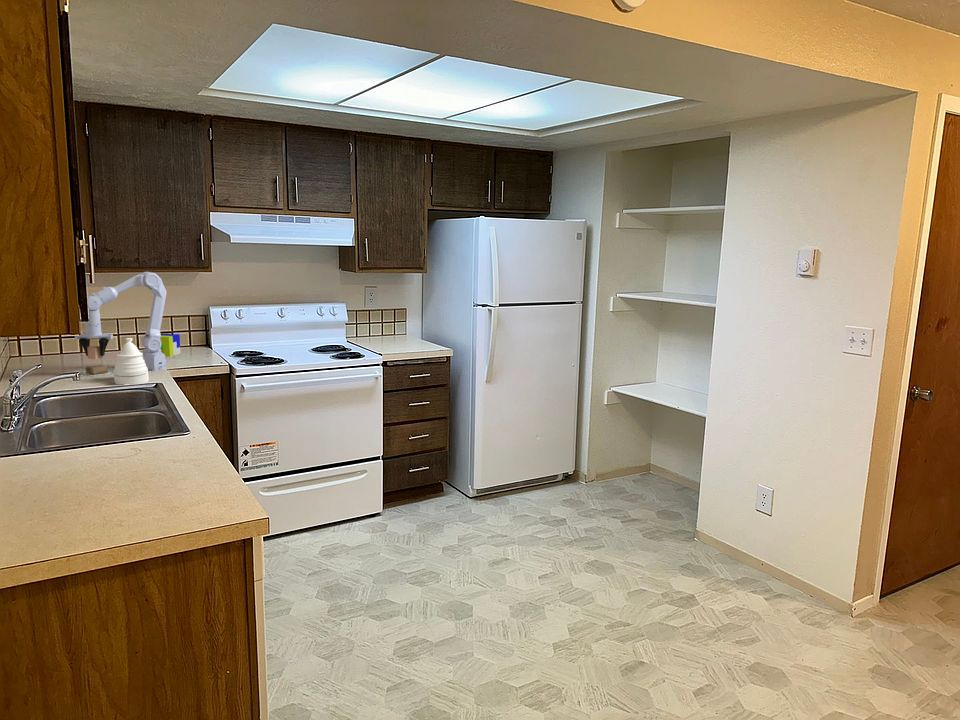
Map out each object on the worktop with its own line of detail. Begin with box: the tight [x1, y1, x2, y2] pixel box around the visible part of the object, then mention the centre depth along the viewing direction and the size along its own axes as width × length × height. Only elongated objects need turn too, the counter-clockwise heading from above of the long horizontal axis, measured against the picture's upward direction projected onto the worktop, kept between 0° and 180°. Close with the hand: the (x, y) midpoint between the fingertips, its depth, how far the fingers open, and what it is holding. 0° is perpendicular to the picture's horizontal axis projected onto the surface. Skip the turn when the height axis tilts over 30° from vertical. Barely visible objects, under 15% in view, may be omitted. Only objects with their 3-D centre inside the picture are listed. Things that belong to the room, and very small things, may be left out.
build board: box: [79, 366, 115, 378], centre depth 295 cm, size 12×18×1 cm, turn 149°
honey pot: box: [113, 337, 150, 386], centre depth 280 cm, size 13×13×18 cm
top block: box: [87, 345, 104, 360], centre depth 289 cm, size 4×4×5 cm
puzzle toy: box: [160, 333, 181, 358], centre depth 343 cm, size 10×10×10 cm
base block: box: [85, 364, 108, 375], centre depth 290 cm, size 6×6×3 cm
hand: (95, 355), depth 289 cm, fingers closed on top block, 5 cm apart
